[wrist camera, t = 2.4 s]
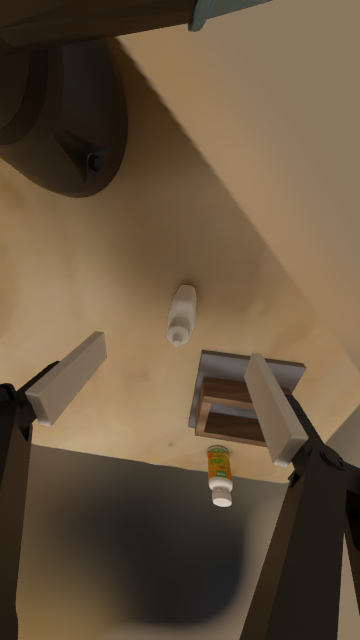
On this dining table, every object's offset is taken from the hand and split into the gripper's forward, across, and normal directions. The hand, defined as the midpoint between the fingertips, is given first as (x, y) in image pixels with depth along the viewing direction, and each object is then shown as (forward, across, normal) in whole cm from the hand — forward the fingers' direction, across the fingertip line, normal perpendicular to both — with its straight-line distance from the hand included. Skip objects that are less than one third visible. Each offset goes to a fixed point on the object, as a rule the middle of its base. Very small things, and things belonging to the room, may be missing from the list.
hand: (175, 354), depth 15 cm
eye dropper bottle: (+13, 0, 0) cm, 13 cm away
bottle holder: (+13, +13, -20) cm, 27 cm away
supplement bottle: (+14, +13, -40) cm, 45 cm away
